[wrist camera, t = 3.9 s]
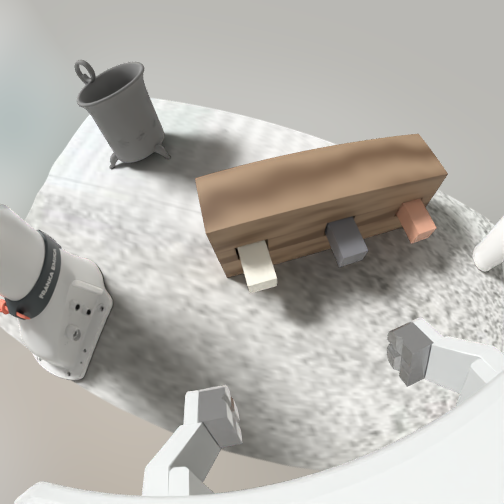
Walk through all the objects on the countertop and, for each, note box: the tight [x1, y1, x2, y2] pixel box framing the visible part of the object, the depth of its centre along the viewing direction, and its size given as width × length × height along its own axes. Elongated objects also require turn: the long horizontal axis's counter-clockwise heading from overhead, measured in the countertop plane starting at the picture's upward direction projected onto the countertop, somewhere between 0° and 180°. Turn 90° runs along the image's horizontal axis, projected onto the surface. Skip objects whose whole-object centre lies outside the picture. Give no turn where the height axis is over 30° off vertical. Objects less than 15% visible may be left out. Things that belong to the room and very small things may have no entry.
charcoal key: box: [325, 216, 368, 267], centre depth 36 cm, size 6×4×3 cm, turn 15°
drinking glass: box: [473, 215, 504, 272], centre depth 33 cm, size 7×7×15 cm
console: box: [195, 134, 448, 278], centre depth 39 cm, size 8×33×14 cm, turn 105°
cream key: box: [237, 240, 277, 293], centre depth 36 cm, size 6×4×3 cm, turn 15°
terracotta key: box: [396, 199, 436, 244], centre depth 36 cm, size 6×4×3 cm, turn 15°
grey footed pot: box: [75, 60, 170, 169], centre depth 46 cm, size 19×15×25 cm
